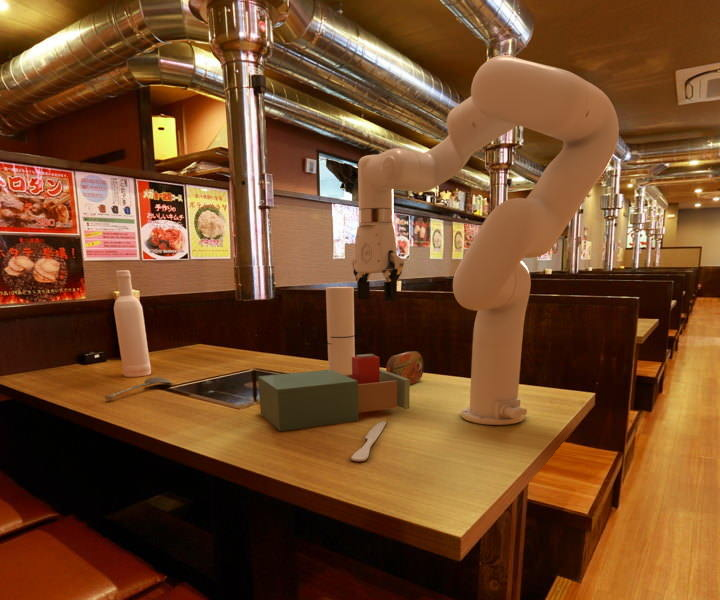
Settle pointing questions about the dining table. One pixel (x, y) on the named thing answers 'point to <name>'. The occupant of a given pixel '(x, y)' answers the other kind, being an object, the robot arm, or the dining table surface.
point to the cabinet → (308, 399)
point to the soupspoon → (147, 382)
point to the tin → (407, 366)
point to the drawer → (384, 393)
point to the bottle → (131, 329)
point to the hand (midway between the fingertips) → (376, 299)
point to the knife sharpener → (366, 368)
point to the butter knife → (368, 442)
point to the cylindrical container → (340, 328)
